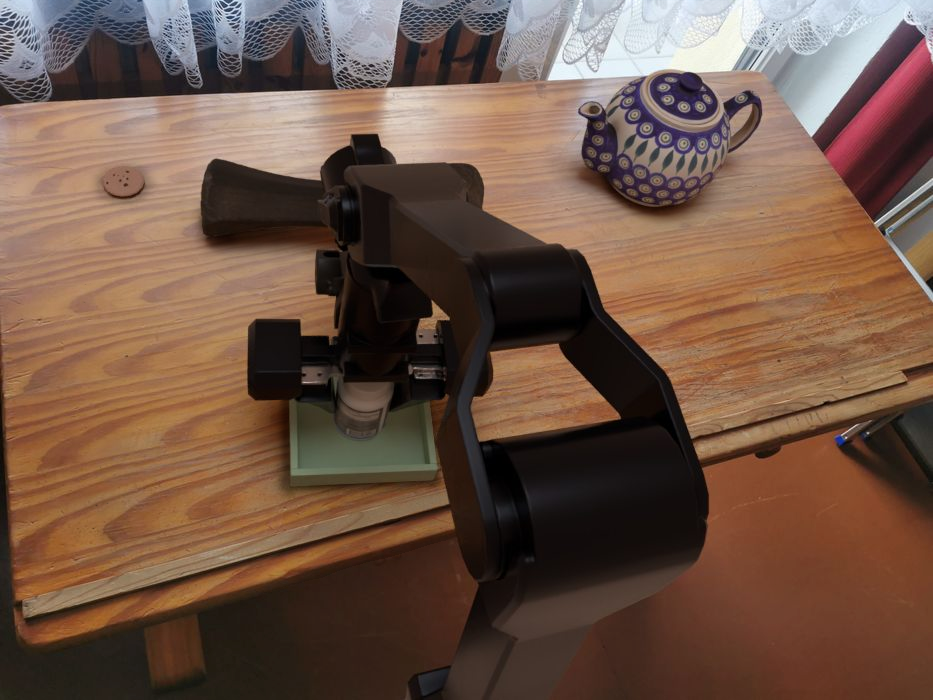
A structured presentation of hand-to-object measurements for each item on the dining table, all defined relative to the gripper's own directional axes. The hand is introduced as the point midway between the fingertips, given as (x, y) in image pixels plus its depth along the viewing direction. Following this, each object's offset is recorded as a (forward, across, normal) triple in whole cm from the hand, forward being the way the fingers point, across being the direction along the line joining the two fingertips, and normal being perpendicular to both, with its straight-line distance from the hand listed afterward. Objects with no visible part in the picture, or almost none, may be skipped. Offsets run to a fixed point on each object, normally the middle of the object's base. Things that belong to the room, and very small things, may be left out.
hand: (361, 407), depth 68 cm
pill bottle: (+2, 0, 0) cm, 2 cm away
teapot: (+2, -36, -32) cm, 49 cm away
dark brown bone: (+2, 0, -21) cm, 21 cm away
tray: (+2, 0, 0) cm, 2 cm away
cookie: (+2, +22, -27) cm, 35 cm away
